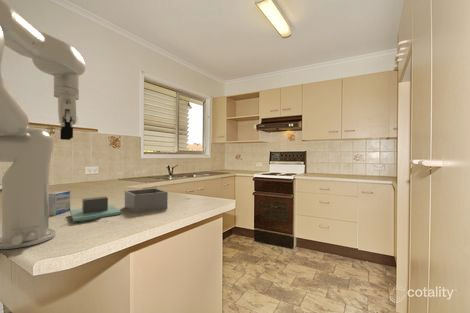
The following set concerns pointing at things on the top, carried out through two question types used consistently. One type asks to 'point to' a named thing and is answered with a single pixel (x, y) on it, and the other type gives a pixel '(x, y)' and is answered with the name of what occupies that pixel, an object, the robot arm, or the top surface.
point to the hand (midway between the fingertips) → (66, 138)
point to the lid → (94, 209)
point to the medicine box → (59, 202)
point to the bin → (145, 200)
